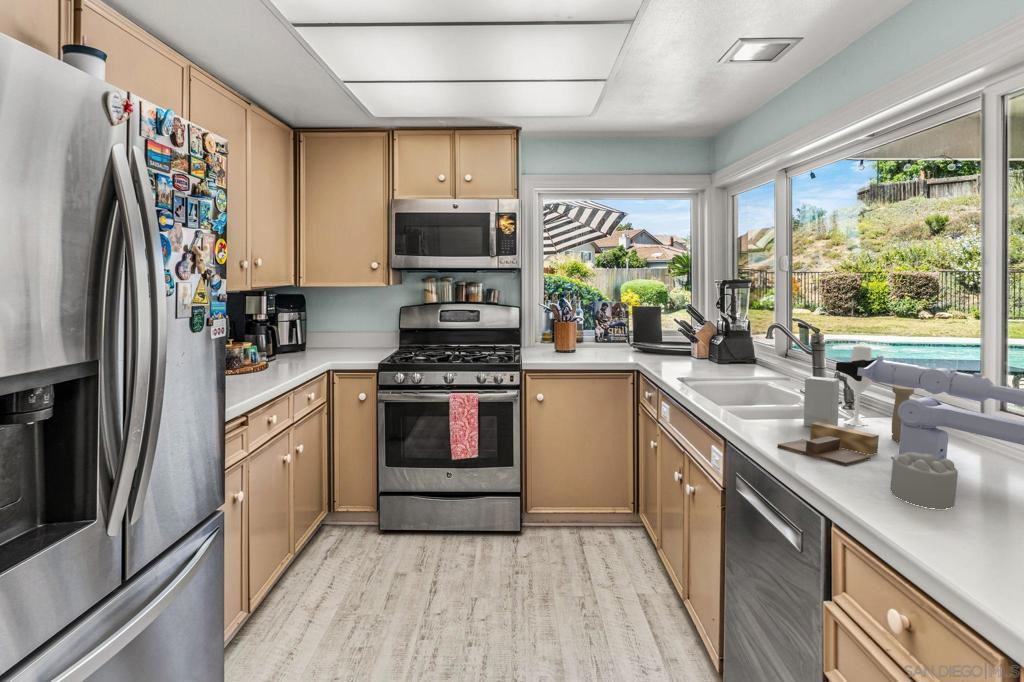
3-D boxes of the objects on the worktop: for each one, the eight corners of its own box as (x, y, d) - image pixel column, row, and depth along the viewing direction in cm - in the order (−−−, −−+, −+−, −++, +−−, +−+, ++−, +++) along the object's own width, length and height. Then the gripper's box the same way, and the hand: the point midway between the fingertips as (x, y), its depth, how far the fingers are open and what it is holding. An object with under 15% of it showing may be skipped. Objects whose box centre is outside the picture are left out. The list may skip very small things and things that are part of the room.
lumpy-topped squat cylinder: (942, 492, 130) (946, 452, 129) (964, 514, 118) (968, 470, 117) (885, 485, 133) (889, 446, 132) (901, 506, 121) (905, 463, 120)
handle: (905, 438, 174) (910, 386, 172) (911, 444, 168) (916, 390, 166) (886, 436, 175) (890, 384, 174) (890, 442, 169) (895, 388, 168)
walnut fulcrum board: (870, 459, 152) (871, 445, 152) (845, 466, 146) (846, 451, 146) (802, 441, 167) (803, 429, 167) (777, 447, 161) (778, 434, 161)
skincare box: (837, 427, 185) (841, 378, 183) (830, 430, 180) (834, 380, 179) (808, 422, 191) (812, 375, 189) (801, 425, 186) (804, 377, 185)
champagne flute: (863, 427, 185) (870, 348, 183) (839, 423, 190) (846, 346, 188) (871, 424, 190) (878, 347, 187) (848, 420, 195) (854, 345, 192)
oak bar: (877, 454, 158) (878, 435, 157) (870, 456, 156) (871, 437, 155) (817, 439, 171) (818, 422, 171) (810, 441, 169) (811, 423, 169)
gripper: (913, 357, 158) (860, 349, 169) (885, 359, 150) (831, 351, 162) (910, 383, 159) (857, 374, 170) (882, 387, 151) (828, 378, 162)
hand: (844, 365), depth 166 cm, fingers open, 7 cm apart
